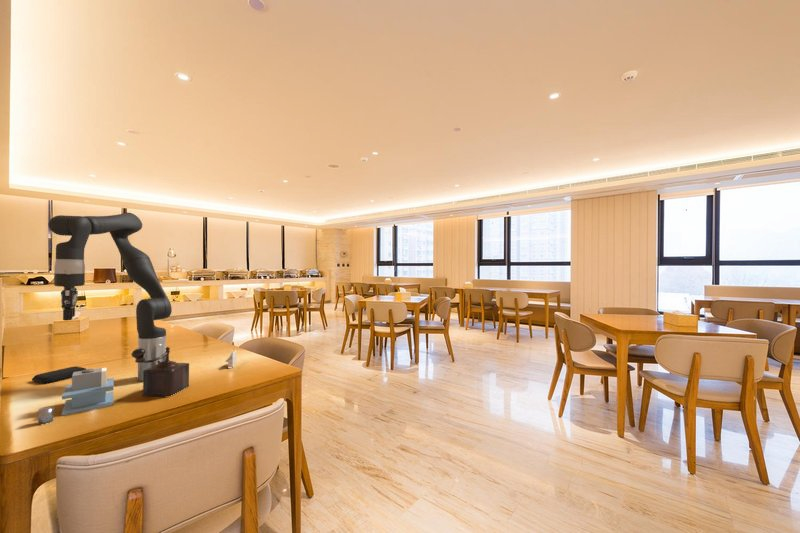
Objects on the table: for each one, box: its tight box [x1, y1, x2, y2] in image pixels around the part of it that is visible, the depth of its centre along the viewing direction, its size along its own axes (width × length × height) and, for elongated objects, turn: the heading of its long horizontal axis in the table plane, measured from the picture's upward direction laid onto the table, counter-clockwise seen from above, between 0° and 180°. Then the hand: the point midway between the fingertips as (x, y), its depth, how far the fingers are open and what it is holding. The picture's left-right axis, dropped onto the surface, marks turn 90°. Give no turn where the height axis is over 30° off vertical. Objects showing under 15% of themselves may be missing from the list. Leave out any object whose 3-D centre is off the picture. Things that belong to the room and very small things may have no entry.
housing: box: [71, 367, 108, 391], centre depth 109 cm, size 8×5×6 cm, turn 131°
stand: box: [61, 377, 115, 416], centre depth 109 cm, size 12×12×6 cm
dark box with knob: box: [131, 346, 190, 398], centre depth 118 cm, size 16×11×18 cm
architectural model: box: [224, 349, 238, 368], centre depth 152 cm, size 3×7×8 cm, turn 9°
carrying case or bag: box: [31, 366, 87, 385], centre depth 134 cm, size 11×3×15 cm
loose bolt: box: [37, 406, 54, 425], centre depth 96 cm, size 3×3×4 cm
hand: (69, 318), depth 113 cm, fingers open, 8 cm apart
